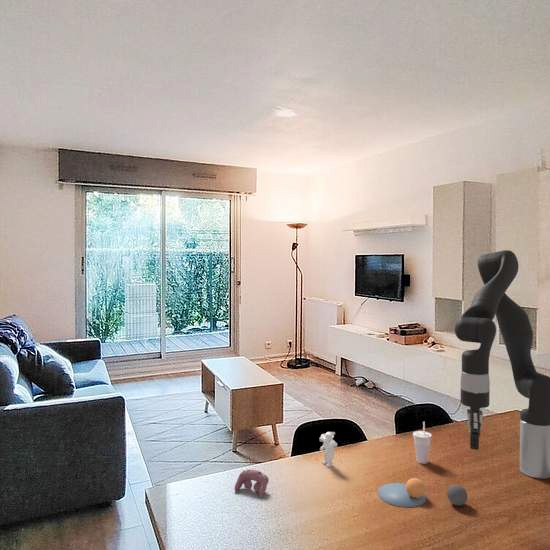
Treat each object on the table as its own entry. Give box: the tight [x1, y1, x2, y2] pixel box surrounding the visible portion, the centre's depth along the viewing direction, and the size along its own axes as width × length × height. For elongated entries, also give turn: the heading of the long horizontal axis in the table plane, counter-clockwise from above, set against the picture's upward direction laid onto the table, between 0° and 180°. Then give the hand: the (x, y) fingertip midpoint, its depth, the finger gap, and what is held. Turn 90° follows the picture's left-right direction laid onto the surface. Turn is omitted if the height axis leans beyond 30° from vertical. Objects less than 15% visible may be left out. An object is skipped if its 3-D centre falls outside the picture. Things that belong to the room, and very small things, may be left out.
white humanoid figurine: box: [319, 431, 338, 468], centre depth 159 cm, size 9×4×12 cm, turn 24°
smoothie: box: [412, 421, 433, 465], centre depth 161 cm, size 6×6×14 cm
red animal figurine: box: [234, 469, 270, 498], centre depth 141 cm, size 10×5×7 cm, turn 66°
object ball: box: [405, 477, 426, 498], centre depth 136 cm, size 6×6×6 cm
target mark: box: [377, 482, 427, 508], centre depth 138 cm, size 14×14×1 cm
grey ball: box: [446, 484, 469, 507], centre depth 132 cm, size 6×6×6 cm
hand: (474, 448), depth 130 cm, fingers closed
